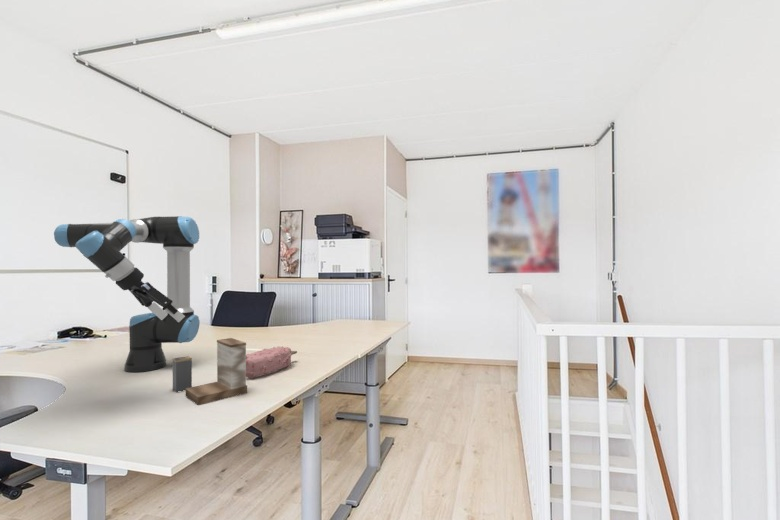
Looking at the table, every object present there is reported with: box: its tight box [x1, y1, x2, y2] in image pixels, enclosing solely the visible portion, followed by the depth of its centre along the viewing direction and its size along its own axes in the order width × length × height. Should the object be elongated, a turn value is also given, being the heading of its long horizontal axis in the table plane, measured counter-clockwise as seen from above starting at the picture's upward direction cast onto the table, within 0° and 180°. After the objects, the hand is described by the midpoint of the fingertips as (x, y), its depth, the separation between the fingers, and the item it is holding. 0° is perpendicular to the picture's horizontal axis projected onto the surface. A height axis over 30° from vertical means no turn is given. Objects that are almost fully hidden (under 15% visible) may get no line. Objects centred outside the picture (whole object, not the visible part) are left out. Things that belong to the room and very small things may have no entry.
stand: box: [184, 337, 248, 406], centre depth 131 cm, size 16×12×17 cm
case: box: [172, 355, 193, 393], centre depth 137 cm, size 5×4×11 cm
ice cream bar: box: [246, 346, 298, 379], centre depth 161 cm, size 13×9×30 cm
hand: (173, 318), depth 134 cm, fingers open, 13 cm apart
